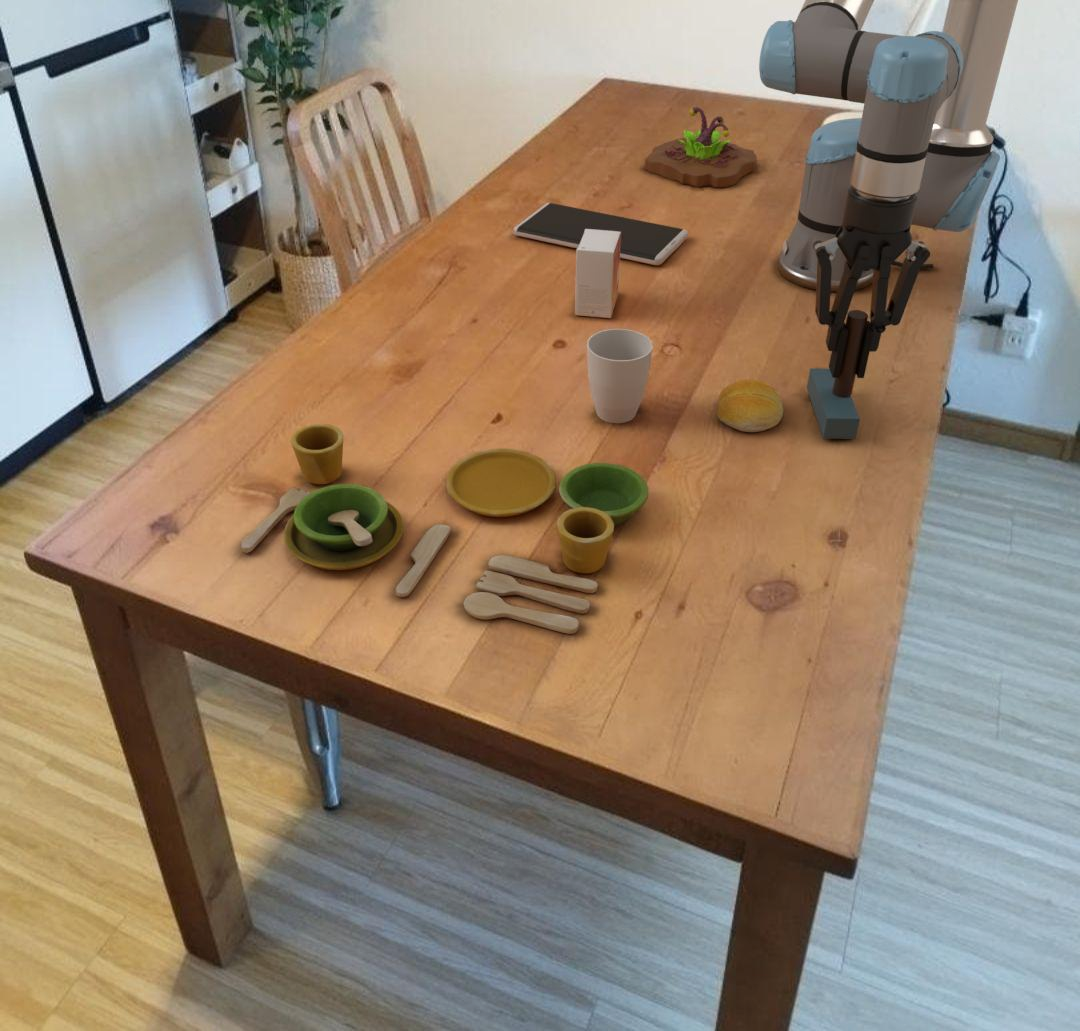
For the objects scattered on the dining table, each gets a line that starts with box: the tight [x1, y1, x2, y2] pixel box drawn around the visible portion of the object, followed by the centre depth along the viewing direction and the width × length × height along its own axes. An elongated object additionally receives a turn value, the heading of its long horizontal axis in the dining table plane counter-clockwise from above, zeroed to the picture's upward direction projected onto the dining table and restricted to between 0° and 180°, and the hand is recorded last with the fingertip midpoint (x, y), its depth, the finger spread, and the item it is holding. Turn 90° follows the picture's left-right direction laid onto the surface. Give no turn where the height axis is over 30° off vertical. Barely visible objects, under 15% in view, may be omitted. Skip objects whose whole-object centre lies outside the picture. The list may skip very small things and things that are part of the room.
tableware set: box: [241, 423, 650, 635], centre depth 119 cm, size 41×28×6 cm
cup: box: [586, 328, 653, 424], centre depth 135 cm, size 8×8×10 cm
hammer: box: [806, 309, 869, 440], centre depth 133 cm, size 4×12×14 cm, turn 179°
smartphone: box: [513, 202, 689, 266], centre depth 181 cm, size 13×27×2 cm, turn 63°
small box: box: [574, 229, 621, 319], centre depth 159 cm, size 8×6×10 cm
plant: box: [644, 106, 757, 189], centre depth 205 cm, size 20×20×11 cm
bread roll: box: [716, 378, 784, 433], centre depth 137 cm, size 8×9×4 cm
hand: (846, 372), depth 134 cm, fingers closed on hammer, 2 cm apart
